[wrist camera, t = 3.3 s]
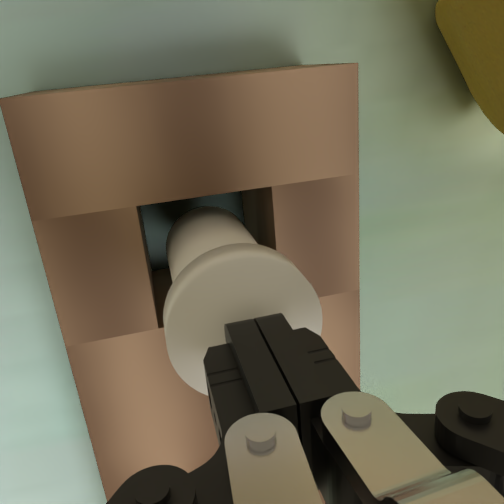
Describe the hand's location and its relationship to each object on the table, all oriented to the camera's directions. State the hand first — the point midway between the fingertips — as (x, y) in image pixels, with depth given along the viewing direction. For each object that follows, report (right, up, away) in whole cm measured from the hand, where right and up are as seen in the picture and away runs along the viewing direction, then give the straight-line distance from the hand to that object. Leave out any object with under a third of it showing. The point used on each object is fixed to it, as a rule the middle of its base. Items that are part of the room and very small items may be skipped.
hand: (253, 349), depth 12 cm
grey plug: (-2, +3, +7) cm, 8 cm away
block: (-2, -2, +14) cm, 14 cm away
